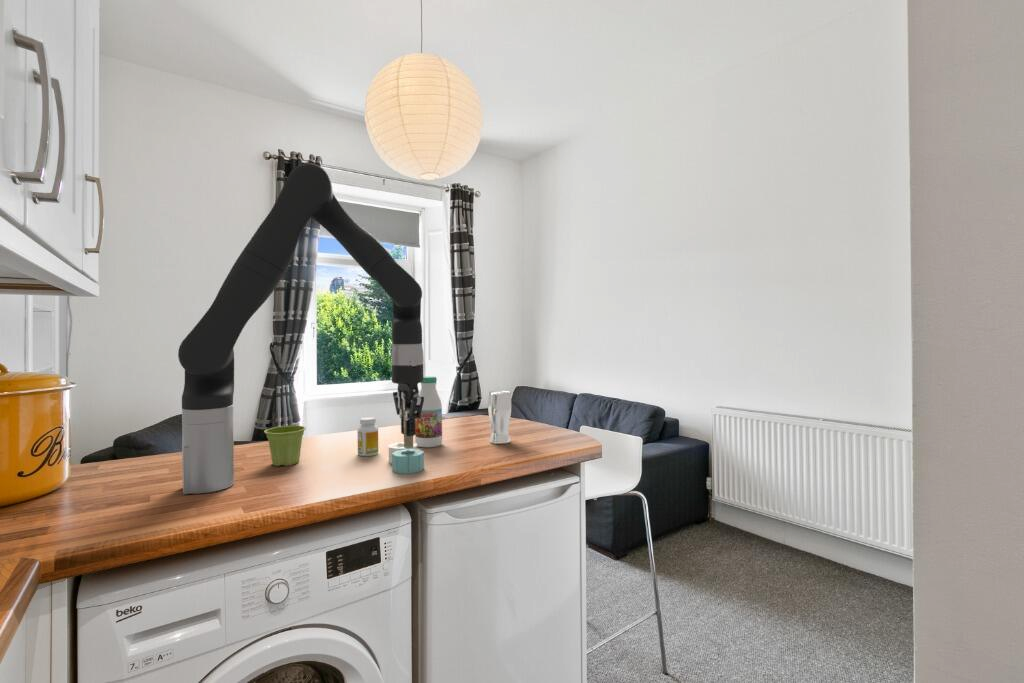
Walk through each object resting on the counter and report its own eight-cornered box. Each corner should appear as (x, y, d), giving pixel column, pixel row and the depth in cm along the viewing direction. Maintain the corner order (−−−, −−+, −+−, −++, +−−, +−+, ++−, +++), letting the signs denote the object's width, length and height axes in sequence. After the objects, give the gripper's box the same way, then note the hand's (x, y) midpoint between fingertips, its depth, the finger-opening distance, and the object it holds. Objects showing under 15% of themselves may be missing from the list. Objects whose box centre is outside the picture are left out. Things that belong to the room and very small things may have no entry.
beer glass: (515, 441, 146) (515, 391, 145) (503, 445, 140) (503, 394, 140) (496, 438, 149) (496, 390, 149) (483, 442, 144) (483, 392, 143)
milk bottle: (414, 443, 144) (413, 376, 143) (439, 441, 146) (439, 375, 145) (417, 449, 136) (416, 378, 136) (444, 447, 138) (443, 377, 138)
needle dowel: (406, 448, 114) (405, 402, 114) (402, 446, 116) (402, 401, 116) (414, 447, 116) (414, 401, 116) (411, 445, 118) (410, 400, 117)
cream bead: (403, 465, 119) (402, 449, 119) (383, 461, 123) (382, 446, 122) (422, 459, 125) (422, 444, 125) (402, 455, 128) (402, 440, 128)
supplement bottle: (381, 451, 133) (381, 416, 133) (373, 456, 128) (373, 420, 127) (362, 451, 134) (362, 416, 133) (354, 456, 128) (354, 420, 128)
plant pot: (276, 470, 115) (276, 434, 115) (257, 464, 121) (257, 429, 120) (313, 462, 122) (312, 428, 122) (293, 456, 128) (293, 424, 128)
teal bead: (400, 475, 111) (399, 458, 111) (388, 468, 117) (388, 451, 117) (427, 470, 115) (427, 453, 115) (415, 463, 121) (415, 447, 121)
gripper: (382, 362, 119) (382, 431, 119) (404, 365, 108) (405, 442, 108) (410, 360, 123) (411, 428, 124) (434, 363, 112) (435, 437, 112)
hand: (408, 434), depth 116 cm, fingers closed on needle dowel, 2 cm apart
